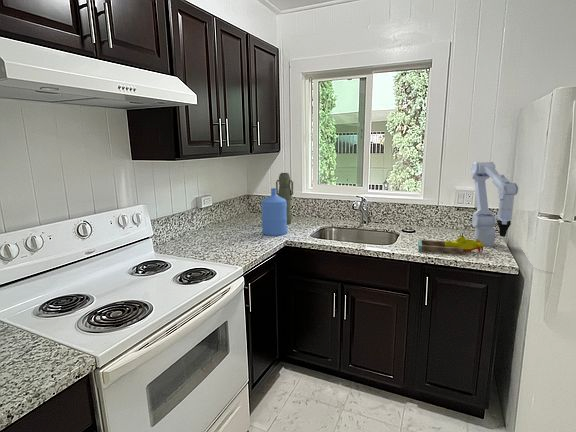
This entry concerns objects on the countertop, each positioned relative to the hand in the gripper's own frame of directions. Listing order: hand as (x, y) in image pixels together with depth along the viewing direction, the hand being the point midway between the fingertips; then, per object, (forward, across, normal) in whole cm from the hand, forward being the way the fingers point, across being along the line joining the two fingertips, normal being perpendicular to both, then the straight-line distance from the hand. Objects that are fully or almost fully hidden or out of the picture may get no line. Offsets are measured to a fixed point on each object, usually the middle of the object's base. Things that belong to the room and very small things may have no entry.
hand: (502, 235), depth 171 cm
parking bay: (+9, +6, -26) cm, 29 cm away
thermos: (+10, -8, -129) cm, 130 cm away
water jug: (+10, +17, -122) cm, 123 cm away
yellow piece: (+10, +4, -16) cm, 19 cm away
